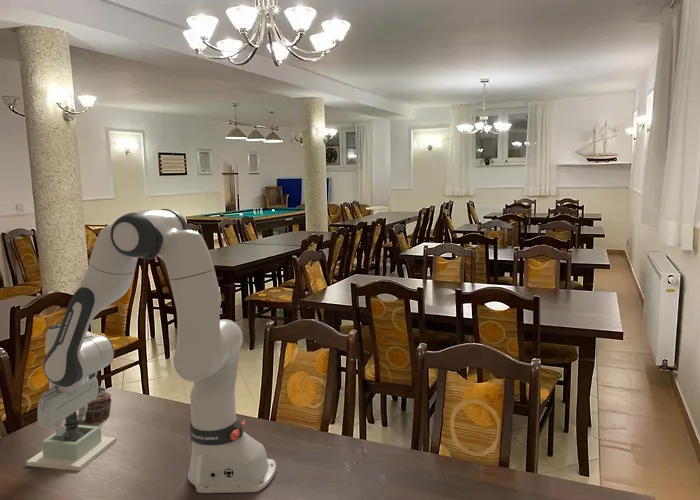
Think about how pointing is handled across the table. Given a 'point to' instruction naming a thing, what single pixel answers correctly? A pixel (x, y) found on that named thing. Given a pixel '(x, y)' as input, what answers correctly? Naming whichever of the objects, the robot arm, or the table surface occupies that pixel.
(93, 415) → the cupcake
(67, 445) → the stand
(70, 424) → the dark chess piece
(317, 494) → the table surface
